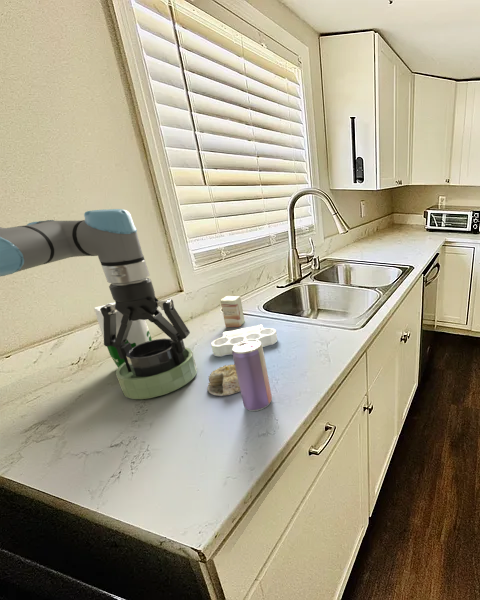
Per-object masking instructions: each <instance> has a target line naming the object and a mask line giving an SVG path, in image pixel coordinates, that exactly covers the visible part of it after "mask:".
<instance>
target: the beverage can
mask: <svg viewBox="0 0 480 600" xmlns="http://www.w3.org/2000/svg"><path fill="white" fill-rule="evenodd" d="M232 350H233V352H232V359H233V365H234V364H235V368H236V373H237V377H238V382H239V386H240V393H241V394H240V396H241V399H242V404H243V408H245V409H246V410H247V411H250V412H258V411H263V410H265V409H266V408H267V407H268V406H269V405H270V404H271V402H272V400H273V395H272V391H271V385H270V379H269V374H268V369H267V363H266V357H265V353H264V347H262V345H261V342H260V341H258V340H245V341H242V342H239V343H237V344H236V345H234V346H233V348H232Z"/></svg>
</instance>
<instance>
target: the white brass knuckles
mask: <svg viewBox="0 0 480 600" xmlns="http://www.w3.org/2000/svg"><path fill="white" fill-rule="evenodd" d="M245 340H258V341H260V342H261V345H262V347H263V348H265V347H268V346H273V345H275V344H277V342H278V334H277V330H276V329H275V328H272V327H264V326H263V324H258V325H253V326H248V327H241V328H239V329H232V330H228V331H223V332H222V336H221V337H218V338H216V339H214V340H213V341H211V343H210V345H211V349H212V350H211V351H212V354H213V356H215V357H219V358H220V357H224V356H229V355H232V352H233V350H232V348H233V346H234V345H236V344H237V343H239V342H242V341H245ZM232 356H233V355H232Z"/></svg>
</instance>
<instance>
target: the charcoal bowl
mask: <svg viewBox="0 0 480 600" xmlns="http://www.w3.org/2000/svg"><path fill="white" fill-rule="evenodd" d="M172 341H173V340H172V339H171V338H156V339H152V340H151V341H147V342H144V343H142V344H139V345H137V346H135V347H133V348H131V349H130V350H129V351H128V352H127V353H126V357H127V360H128V363H129V365H130V368H131V371H132V374H134V375H135V376H141V377H148V376H153V375H157V374H160V373H163V372H166V371H169V370H171V369H172V368H174V367H175V366H176V365H177V364H176V361H175V357H174V354H173V351H172V347H171V344H170V343H171V342H172Z"/></svg>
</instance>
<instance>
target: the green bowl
mask: <svg viewBox="0 0 480 600" xmlns="http://www.w3.org/2000/svg"><path fill="white" fill-rule="evenodd" d="M183 356H184V359H185V361H184V362H183V363H181V364H180V365H179V366H177V365H176V366H175V367H174V368H172V369H171V370H169V371H166V372H163V373H160V374H157V375H153V376H148V377H141V376H135V375H134V374H132V372H128V369H127V366H126V363H125V362H124V363H123V364H122V365H120V366H119V367H117V369H116V371H115V375H116V378H117V381H118V383H119V386H120V388H121V391H122V394H123V396H124V397H126V398H127V399H131V400H144V399H145V400H146V399H153V398H156V397H160V396H164V395H167V394H169V393H172V392H174V391H176V390H179V389H180V388H182V387H184V386H186V385H187V384H188V383H190V382H191V381H192V380H193V379H194V378H195V377H196V375H197V373H198V367H197V364H196V361H195V357H194V353H193V351H192V350H191V348H189V347H186V346H185V350H184V351H183Z"/></svg>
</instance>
